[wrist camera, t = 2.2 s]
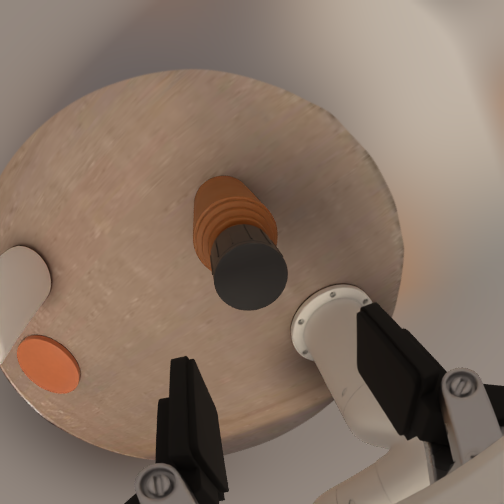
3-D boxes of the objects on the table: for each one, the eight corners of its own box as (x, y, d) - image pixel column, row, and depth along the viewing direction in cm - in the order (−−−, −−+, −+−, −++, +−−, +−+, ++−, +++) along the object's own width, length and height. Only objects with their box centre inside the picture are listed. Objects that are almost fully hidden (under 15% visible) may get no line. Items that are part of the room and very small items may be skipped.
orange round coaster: (92, 386, 41) (91, 390, 40) (41, 391, 40) (40, 395, 39) (58, 329, 37) (56, 333, 36) (7, 339, 36) (5, 343, 35)
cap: (277, 274, 22) (292, 300, 18) (219, 289, 21) (224, 318, 18) (266, 217, 20) (281, 234, 17) (203, 233, 20) (205, 253, 16)
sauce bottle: (256, 224, 36) (310, 306, 19) (202, 237, 36) (209, 333, 19) (245, 169, 34) (295, 207, 17) (187, 183, 33) (178, 236, 16)
